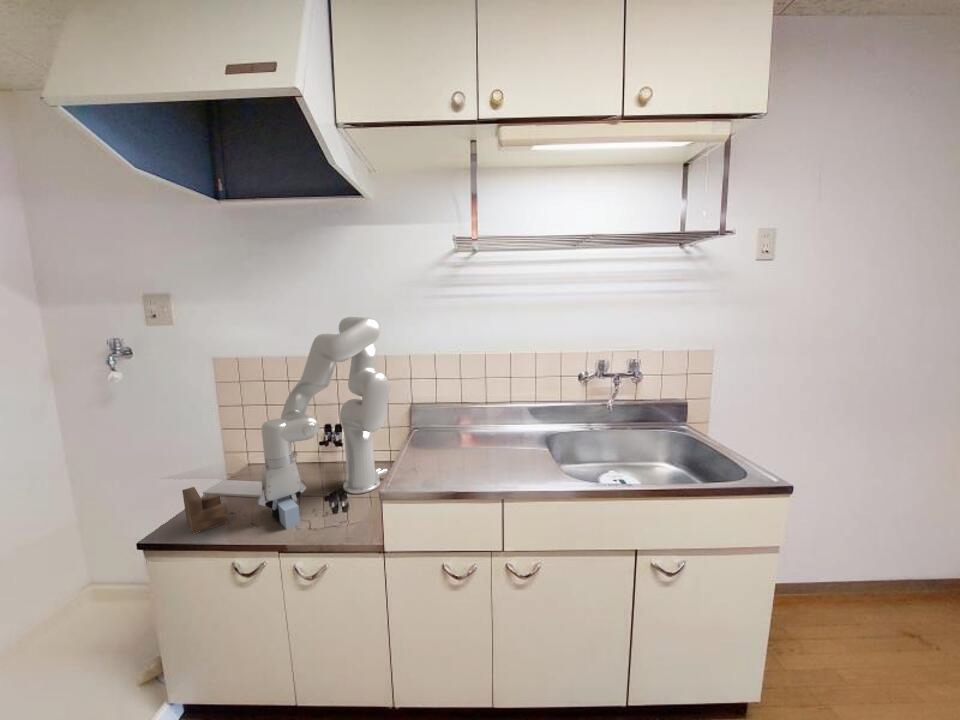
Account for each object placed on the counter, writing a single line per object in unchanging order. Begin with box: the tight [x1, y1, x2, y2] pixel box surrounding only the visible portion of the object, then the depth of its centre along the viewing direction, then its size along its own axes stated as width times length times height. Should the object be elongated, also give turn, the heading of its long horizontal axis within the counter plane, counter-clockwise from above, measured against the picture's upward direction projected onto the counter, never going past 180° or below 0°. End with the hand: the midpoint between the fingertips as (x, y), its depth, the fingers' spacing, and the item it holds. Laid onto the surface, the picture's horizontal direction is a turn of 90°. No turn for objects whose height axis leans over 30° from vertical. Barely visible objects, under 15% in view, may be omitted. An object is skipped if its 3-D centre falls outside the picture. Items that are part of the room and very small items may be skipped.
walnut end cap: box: [182, 486, 230, 534], centre depth 123 cm, size 9×10×10 cm
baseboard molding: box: [202, 479, 303, 499], centre depth 144 cm, size 31×3×12 cm
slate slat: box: [269, 496, 301, 530], centre depth 124 cm, size 4×14×6 cm, turn 44°
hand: (284, 515), depth 125 cm, fingers closed on slate slat, 4 cm apart
